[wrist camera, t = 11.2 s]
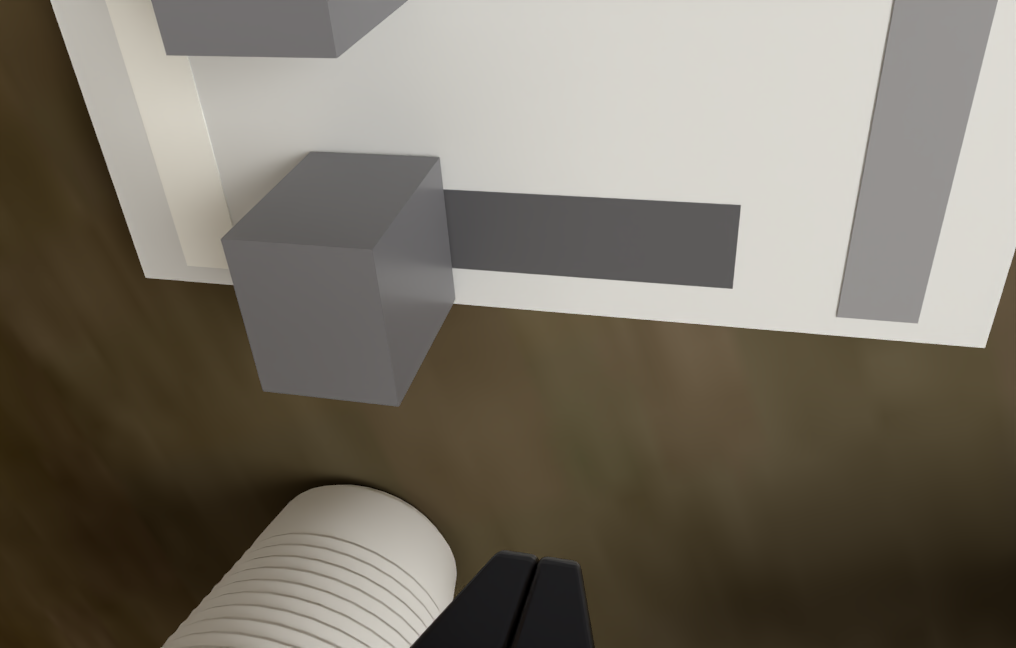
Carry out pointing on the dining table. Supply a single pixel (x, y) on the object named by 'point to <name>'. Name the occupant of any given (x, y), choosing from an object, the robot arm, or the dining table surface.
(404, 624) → the cup
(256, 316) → the block
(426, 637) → the robot arm
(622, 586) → the dining table surface
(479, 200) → the panel
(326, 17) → the block
